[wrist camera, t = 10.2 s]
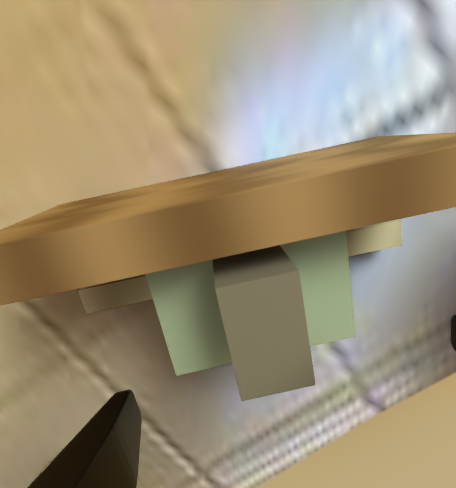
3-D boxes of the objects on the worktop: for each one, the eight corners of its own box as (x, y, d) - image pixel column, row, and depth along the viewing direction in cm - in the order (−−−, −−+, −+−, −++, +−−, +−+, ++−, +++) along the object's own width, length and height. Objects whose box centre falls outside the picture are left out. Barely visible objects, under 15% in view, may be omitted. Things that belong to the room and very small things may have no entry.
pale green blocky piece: (299, 195, 21) (381, 239, 11) (310, 280, 22) (389, 378, 13) (161, 225, 20) (126, 294, 11) (184, 307, 22) (170, 427, 13)
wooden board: (379, 136, 20) (540, 128, 10) (384, 236, 22) (524, 307, 12) (61, 204, 20) (-71, 259, 10) (96, 299, 22) (13, 419, 12)
